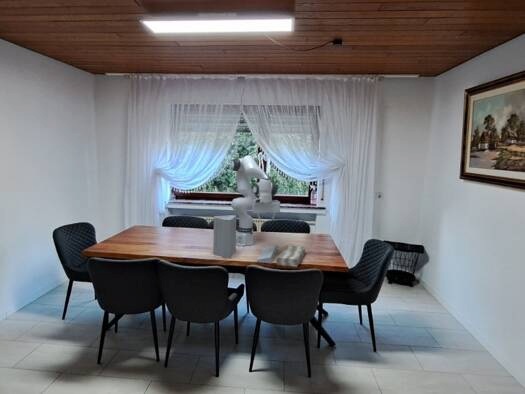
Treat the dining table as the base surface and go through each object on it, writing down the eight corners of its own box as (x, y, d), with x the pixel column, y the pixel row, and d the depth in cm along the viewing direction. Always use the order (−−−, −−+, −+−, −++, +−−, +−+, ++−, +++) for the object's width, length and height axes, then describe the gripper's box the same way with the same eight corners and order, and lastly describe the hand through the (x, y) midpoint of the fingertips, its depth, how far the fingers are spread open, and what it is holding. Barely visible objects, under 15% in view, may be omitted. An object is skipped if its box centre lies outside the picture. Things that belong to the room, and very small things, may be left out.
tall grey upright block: (217, 250, 284) (217, 214, 281) (235, 251, 282) (236, 215, 278) (209, 256, 265) (210, 218, 262) (229, 258, 263) (230, 220, 260)
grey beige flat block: (276, 264, 251) (276, 257, 250) (286, 251, 285) (286, 245, 285) (297, 266, 247) (297, 259, 247) (304, 253, 282) (305, 246, 281)
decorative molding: (258, 266, 255) (272, 263, 254) (256, 259, 255) (270, 257, 253) (265, 253, 289) (277, 251, 287) (264, 247, 289) (276, 245, 287)
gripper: (279, 200, 268) (280, 218, 268) (251, 200, 267) (252, 219, 266) (280, 199, 262) (281, 219, 261) (252, 200, 260) (252, 219, 260)
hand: (266, 219), depth 264 cm, fingers open, 8 cm apart
